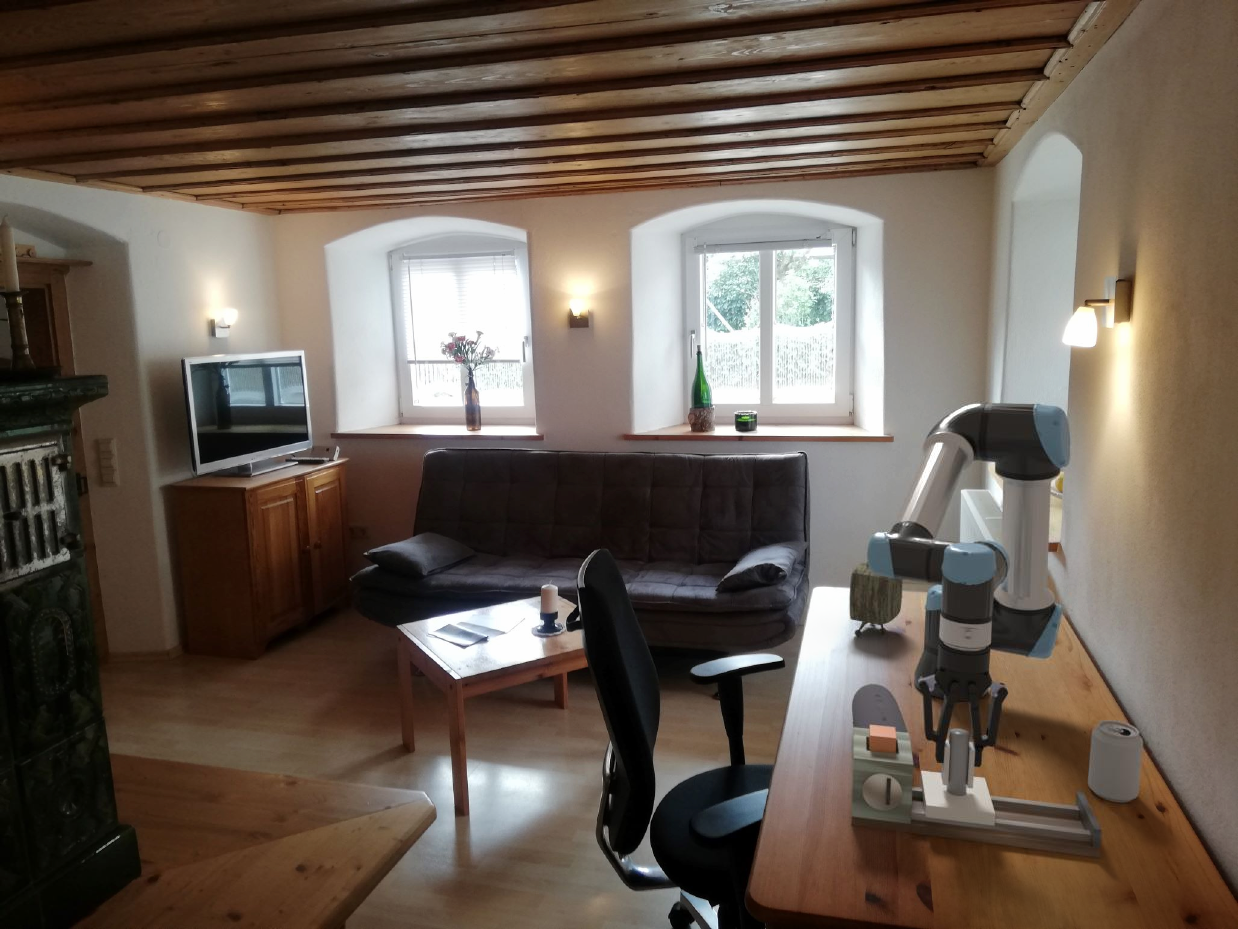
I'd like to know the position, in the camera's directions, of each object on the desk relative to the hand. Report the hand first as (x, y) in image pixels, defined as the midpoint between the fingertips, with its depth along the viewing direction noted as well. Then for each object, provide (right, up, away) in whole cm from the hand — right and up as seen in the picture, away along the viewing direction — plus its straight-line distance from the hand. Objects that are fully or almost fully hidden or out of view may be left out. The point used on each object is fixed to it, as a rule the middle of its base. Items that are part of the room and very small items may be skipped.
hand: (956, 782), depth 140 cm
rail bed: (+2, -7, +1) cm, 7 cm away
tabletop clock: (+12, +7, +87) cm, 88 cm away
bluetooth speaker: (-6, -3, +22) cm, 23 cm away
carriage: (0, -3, +1) cm, 4 cm away
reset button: (-11, +5, +2) cm, 12 cm away
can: (+30, -5, +9) cm, 31 cm away
